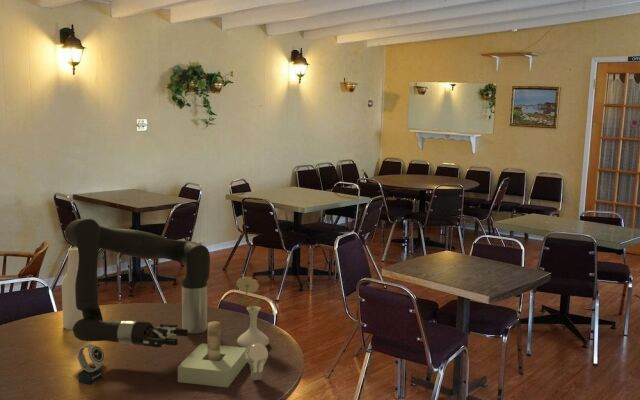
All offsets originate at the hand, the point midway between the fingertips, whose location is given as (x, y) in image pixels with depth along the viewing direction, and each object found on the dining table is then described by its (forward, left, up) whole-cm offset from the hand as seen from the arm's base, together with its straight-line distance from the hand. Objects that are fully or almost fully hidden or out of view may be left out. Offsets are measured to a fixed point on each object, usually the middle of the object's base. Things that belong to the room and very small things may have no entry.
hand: (182, 337), depth 208 cm
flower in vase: (-25, +15, -11) cm, 31 cm away
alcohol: (-27, -54, -11) cm, 61 cm away
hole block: (0, +10, -10) cm, 15 cm away
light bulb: (+3, +25, -11) cm, 28 cm away
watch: (+15, -24, -11) cm, 30 cm away
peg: (0, +10, -10) cm, 15 cm away
